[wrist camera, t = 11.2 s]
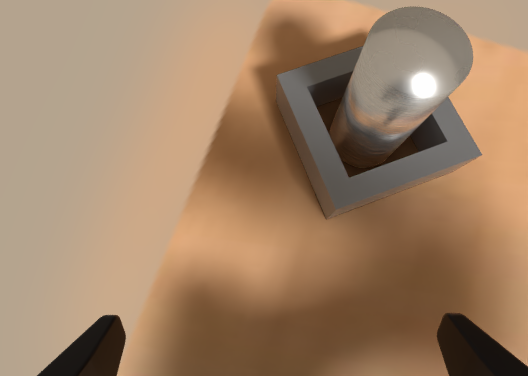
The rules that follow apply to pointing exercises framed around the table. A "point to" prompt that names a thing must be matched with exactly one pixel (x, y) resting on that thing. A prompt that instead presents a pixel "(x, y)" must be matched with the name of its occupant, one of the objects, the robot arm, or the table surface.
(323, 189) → the grey square frame
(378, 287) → the table surface
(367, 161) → the steel shaft
